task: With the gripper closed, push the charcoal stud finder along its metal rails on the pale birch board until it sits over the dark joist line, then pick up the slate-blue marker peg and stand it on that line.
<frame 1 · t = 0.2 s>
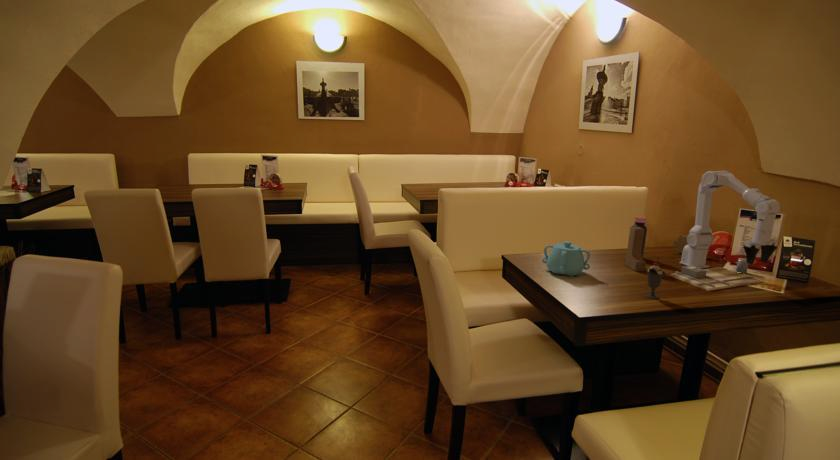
hand: (756, 262, 194), 10 cm above the table, tool pointing down, fingers open, 7 cm apart
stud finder: (693, 271, 203), point 3 cm above the table, slide at 0.0 cm
decorative pot: (564, 272, 208), on the table
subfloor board: (714, 279, 203), on the table
bottle: (635, 258, 230), on the table
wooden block: (634, 268, 215), on the table
wooden carving: (688, 255, 237), on the table
sundae: (651, 297, 182), on the table
marker peg: (741, 272, 213), on the table
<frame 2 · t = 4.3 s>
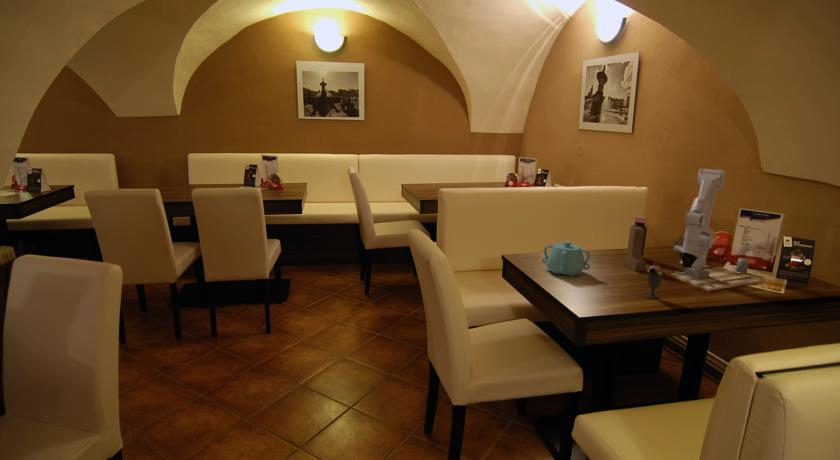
hand: (686, 270, 207), 2 cm above the table, tool pointing down, fingers closed
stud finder: (696, 272, 202), point 3 cm above the table, slide at 1.3 cm, touching gripper
everything else where it was.
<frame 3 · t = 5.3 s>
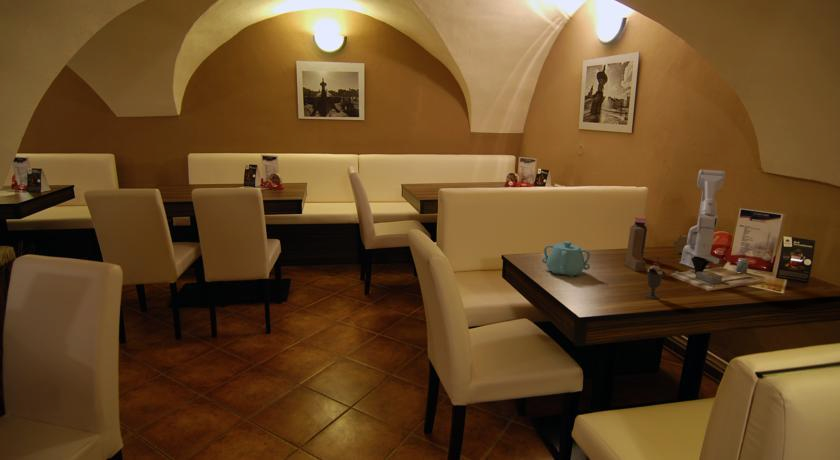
hand: (698, 274, 201), 2 cm above the table, tool pointing down, fingers closed
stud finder: (708, 276, 197), point 3 cm above the table, slide at 7.0 cm, touching gripper
everything else where it was.
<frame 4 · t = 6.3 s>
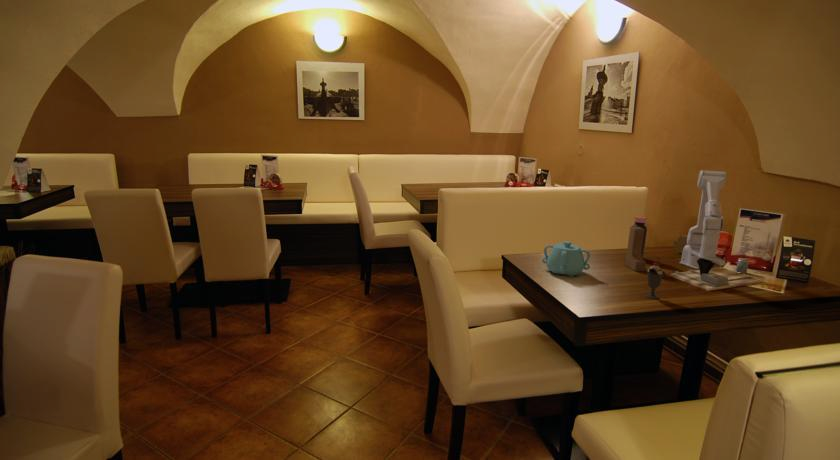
hand: (703, 276, 199), 2 cm above the table, tool pointing down, fingers closed
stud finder: (714, 278, 195), point 3 cm above the table, slide at 9.5 cm, touching gripper
everything else where it was.
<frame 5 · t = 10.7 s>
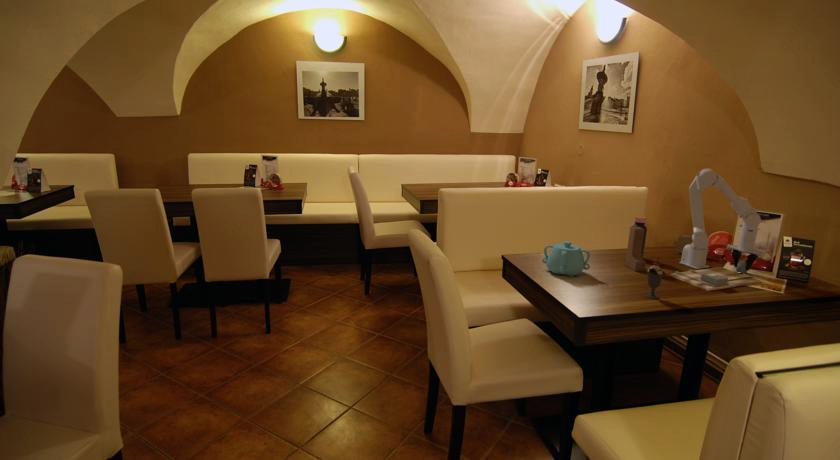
hand: (741, 268, 213), 2 cm above the table, tool pointing down, fingers closed on marker peg, 4 cm apart
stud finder: (714, 278, 195), point 3 cm above the table, slide at 9.5 cm
marker peg: (741, 272, 213), on the table, touching gripper
everything else where it was.
when the fingers open (4 cm above the table, at t = 14.3 s): marker peg stays where it is, resting on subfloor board.
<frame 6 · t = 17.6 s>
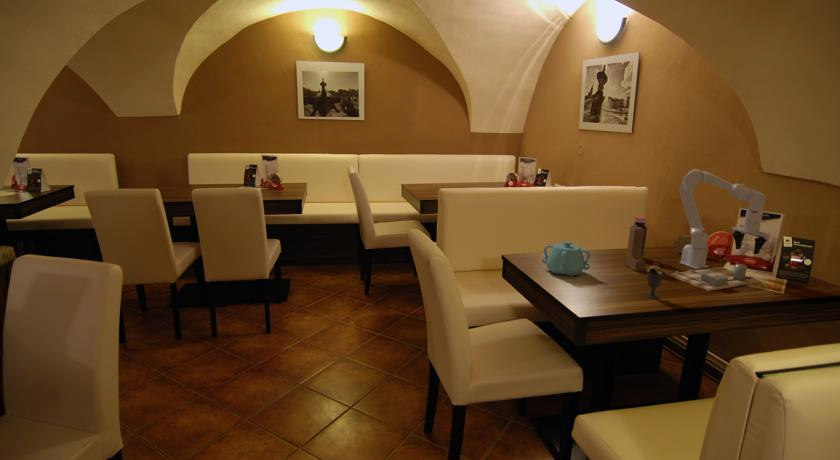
hand: (746, 251, 208), 10 cm above the table, tool pointing down, fingers open, 7 cm apart
marker peg: (738, 278, 201), point 1 cm above the table, touching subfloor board
everything else where it was.
at the end: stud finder slide at 9.5 cm; marker peg 0.3 cm from the target spot, point 1.1 cm above the table; marker peg tilted 0° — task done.
